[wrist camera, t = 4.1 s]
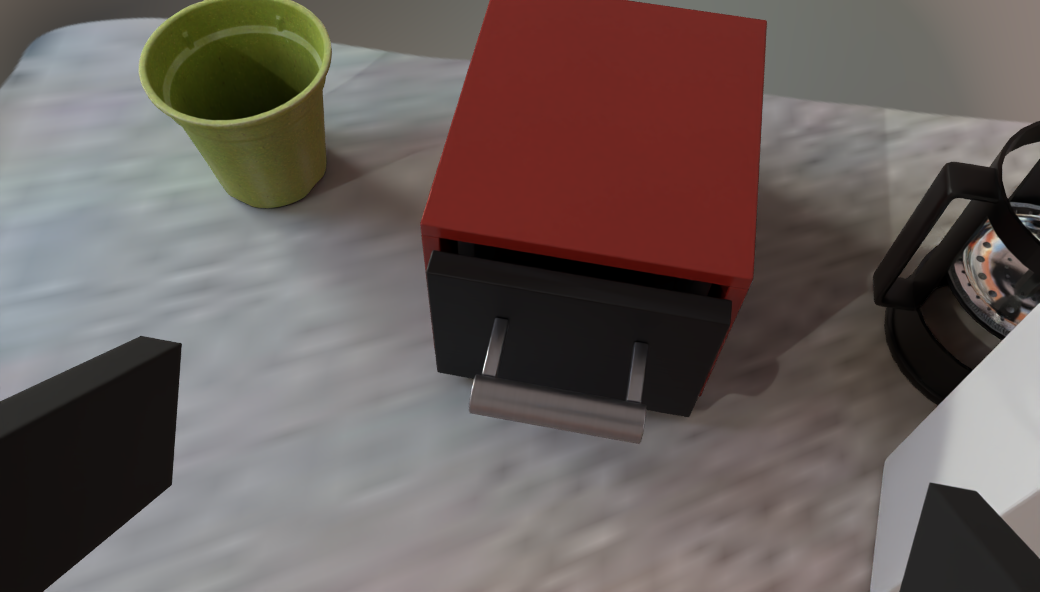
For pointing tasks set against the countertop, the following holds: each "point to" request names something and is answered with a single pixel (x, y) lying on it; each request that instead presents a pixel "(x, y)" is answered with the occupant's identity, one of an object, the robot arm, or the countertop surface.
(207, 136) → the plant pot
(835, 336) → the countertop surface
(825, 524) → the countertop surface
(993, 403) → the milk carton
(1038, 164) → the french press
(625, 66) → the red drawer cabinet
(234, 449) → the countertop surface
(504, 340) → the black drawer
